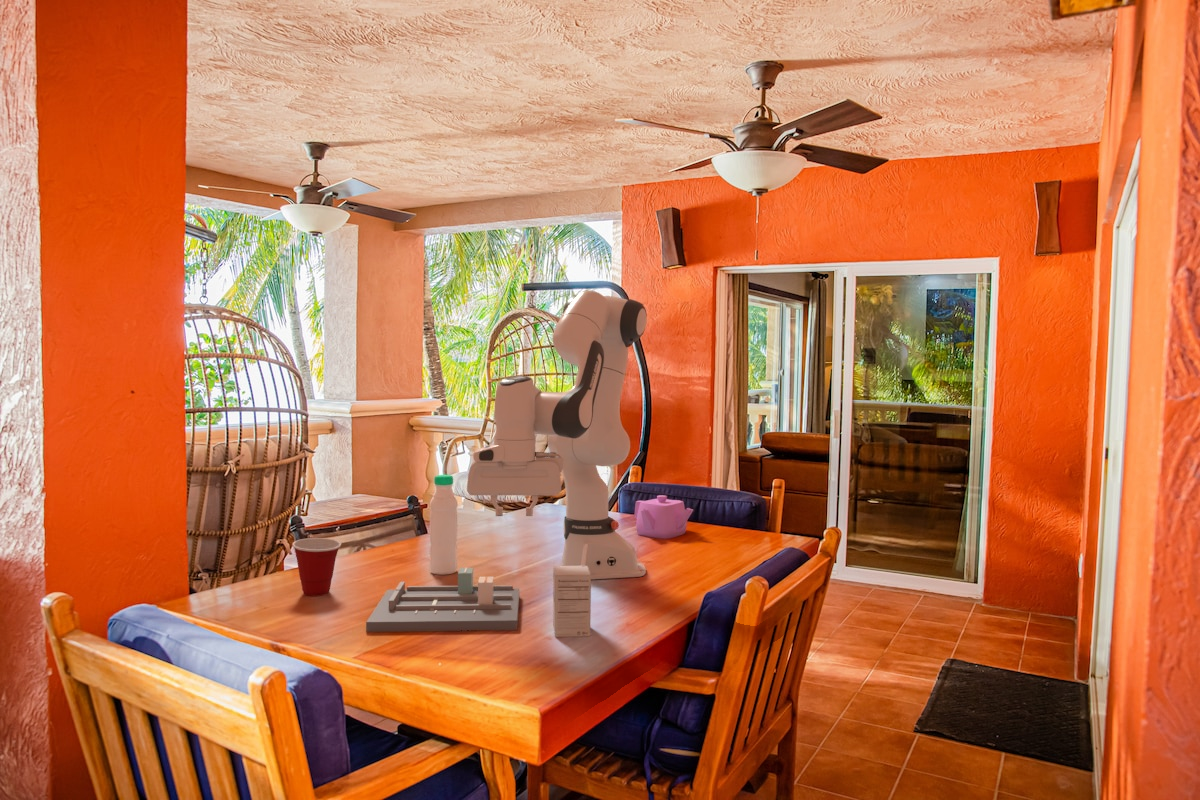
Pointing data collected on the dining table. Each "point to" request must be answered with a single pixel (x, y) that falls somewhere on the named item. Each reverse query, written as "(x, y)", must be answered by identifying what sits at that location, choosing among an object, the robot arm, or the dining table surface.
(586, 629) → the supplement box
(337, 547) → the plastic cup
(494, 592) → the console
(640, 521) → the teakettle
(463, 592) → the fader
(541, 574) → the dining table surface
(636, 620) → the dining table surface
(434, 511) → the water bottle
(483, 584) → the fader
